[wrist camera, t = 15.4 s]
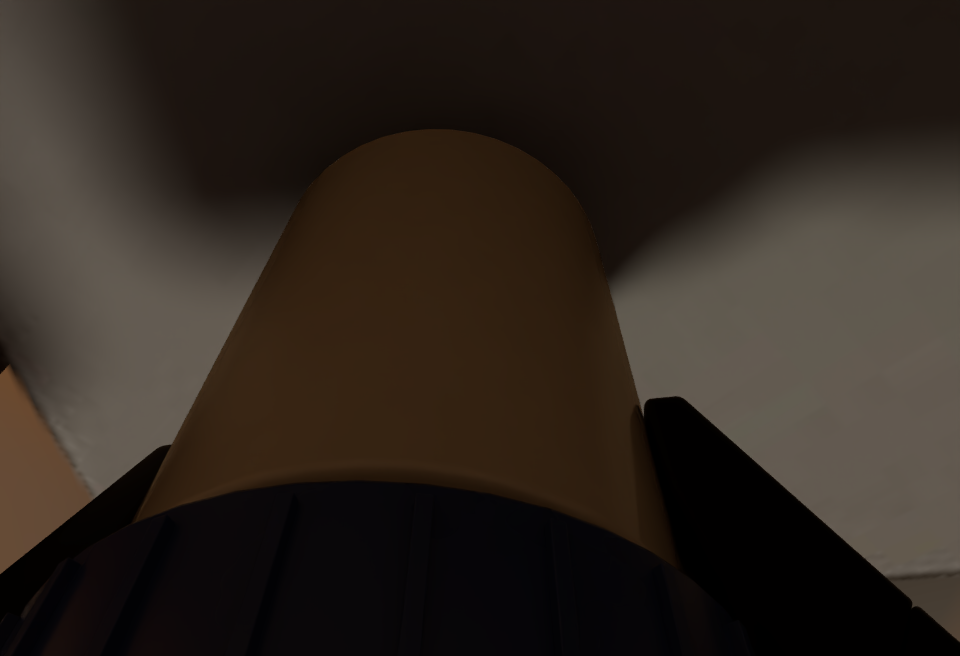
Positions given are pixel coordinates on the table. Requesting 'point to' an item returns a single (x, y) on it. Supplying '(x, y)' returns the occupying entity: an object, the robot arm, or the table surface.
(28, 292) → the table surface
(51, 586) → the jar lid
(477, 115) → the table surface
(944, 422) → the table surface
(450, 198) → the jar
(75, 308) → the table surface
